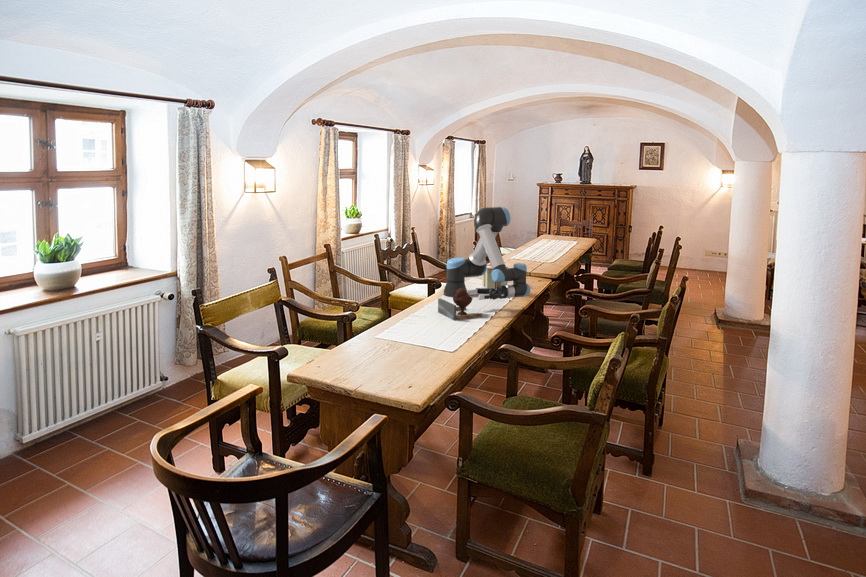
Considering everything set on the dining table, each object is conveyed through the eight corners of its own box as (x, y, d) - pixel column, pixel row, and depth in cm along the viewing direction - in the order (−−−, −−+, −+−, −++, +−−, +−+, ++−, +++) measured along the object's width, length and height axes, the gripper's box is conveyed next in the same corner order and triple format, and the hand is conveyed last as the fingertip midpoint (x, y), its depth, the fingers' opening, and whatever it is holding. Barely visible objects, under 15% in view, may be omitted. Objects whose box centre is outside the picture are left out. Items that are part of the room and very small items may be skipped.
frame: (464, 309, 346) (465, 295, 345) (481, 317, 329) (482, 302, 328) (438, 312, 339) (438, 298, 337) (453, 320, 322) (454, 305, 320)
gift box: (476, 285, 415) (476, 260, 411) (501, 284, 419) (502, 259, 416) (484, 290, 399) (484, 264, 395) (510, 289, 403) (510, 263, 399)
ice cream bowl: (473, 316, 330) (474, 289, 327) (453, 316, 329) (453, 290, 326) (470, 311, 340) (471, 286, 337) (451, 312, 340) (451, 286, 337)
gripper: (516, 302, 334) (483, 306, 325) (493, 293, 356) (462, 296, 347) (517, 289, 332) (484, 292, 323) (494, 281, 354) (462, 284, 345)
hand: (472, 294), depth 335 cm, fingers open, 13 cm apart
